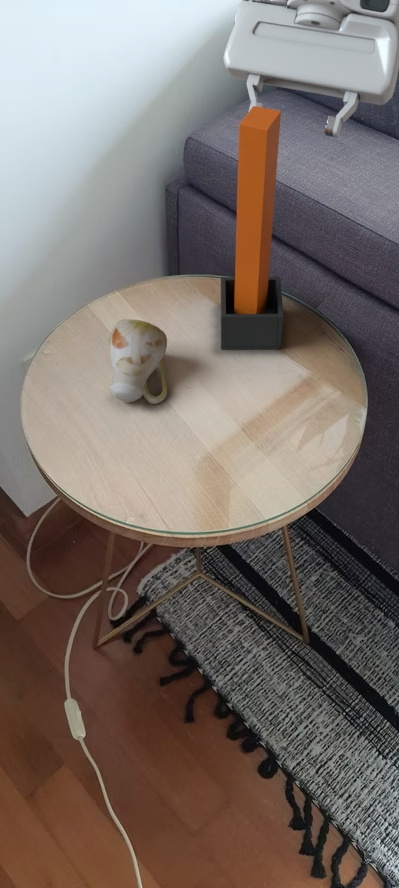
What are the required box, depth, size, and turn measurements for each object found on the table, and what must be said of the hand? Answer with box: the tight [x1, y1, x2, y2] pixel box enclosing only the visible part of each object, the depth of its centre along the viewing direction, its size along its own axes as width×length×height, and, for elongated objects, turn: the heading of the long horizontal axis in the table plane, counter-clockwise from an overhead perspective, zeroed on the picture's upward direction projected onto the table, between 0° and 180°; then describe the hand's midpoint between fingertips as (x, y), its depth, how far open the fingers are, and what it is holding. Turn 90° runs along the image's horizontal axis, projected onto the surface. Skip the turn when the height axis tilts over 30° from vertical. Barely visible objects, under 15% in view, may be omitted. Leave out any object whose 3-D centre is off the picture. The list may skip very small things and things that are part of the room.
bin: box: [220, 276, 285, 351], centre depth 89 cm, size 8×8×6 cm
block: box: [234, 106, 282, 314], centre depth 80 cm, size 3×4×28 cm
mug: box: [108, 318, 168, 405], centre depth 85 cm, size 8×10×10 cm
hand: (292, 127), depth 81 cm, fingers open, 8 cm apart
